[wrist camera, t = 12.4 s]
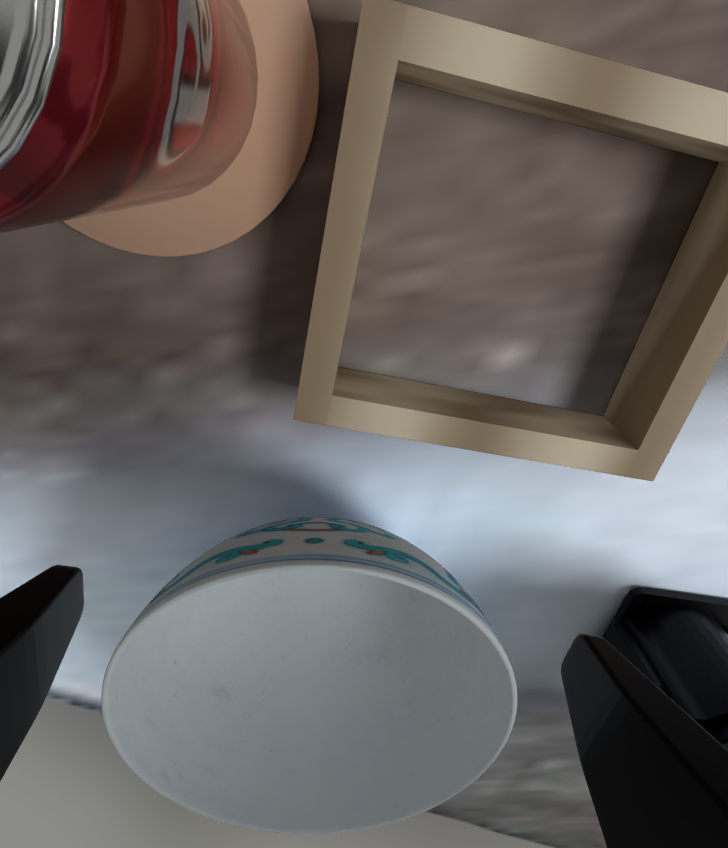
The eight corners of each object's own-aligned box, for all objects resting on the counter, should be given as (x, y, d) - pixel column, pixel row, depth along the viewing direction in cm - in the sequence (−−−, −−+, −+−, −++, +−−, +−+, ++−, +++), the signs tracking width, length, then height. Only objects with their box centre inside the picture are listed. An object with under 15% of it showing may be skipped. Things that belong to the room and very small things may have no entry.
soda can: (155, -155, 14) (-554, -1365, 3) (306, 120, 16) (237, 33, 6) (-40, 16, 15) (-996, -360, 4) (131, 242, 18) (-186, 353, 7)
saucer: (349, -106, 15) (349, -117, 14) (292, 281, 19) (291, 285, 19) (-70, -231, 13) (-88, -248, 13) (-21, 217, 18) (-32, 219, 17)
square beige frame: (767, 131, 18) (843, 125, 15) (616, 444, 23) (652, 481, 20) (360, 22, 16) (364, -8, 13) (299, 387, 21) (293, 419, 19)
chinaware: (528, 507, 24) (600, 642, 17) (393, 702, 30) (408, 860, 23) (219, 393, 21) (159, 502, 14) (136, 635, 27) (66, 794, 20)
